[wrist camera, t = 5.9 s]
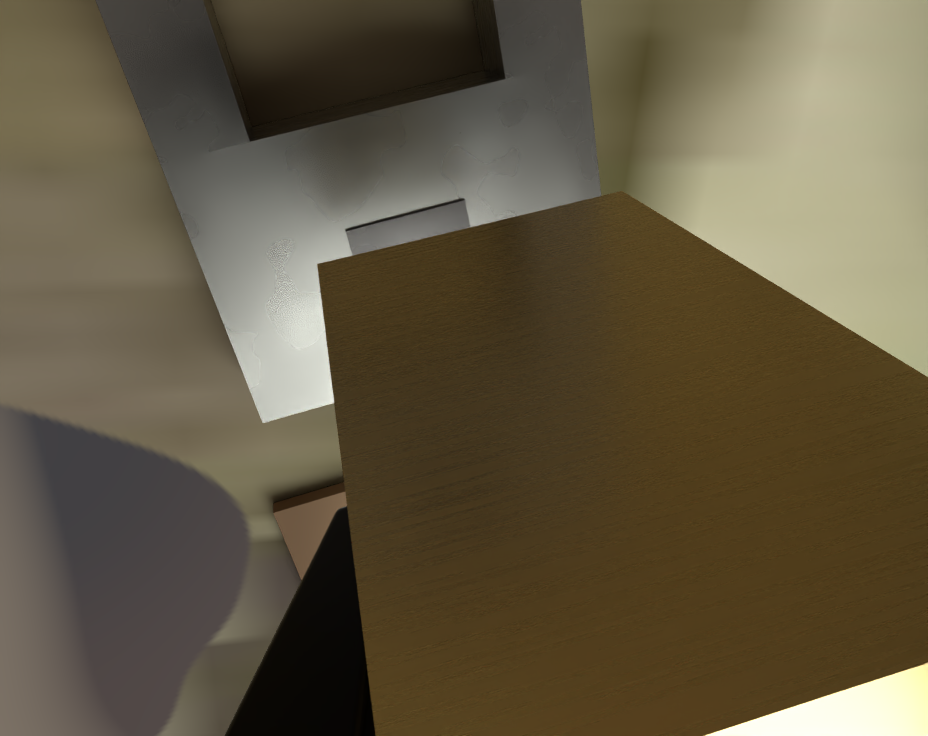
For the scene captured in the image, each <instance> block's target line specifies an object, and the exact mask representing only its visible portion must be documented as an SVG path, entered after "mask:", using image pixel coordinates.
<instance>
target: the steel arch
mask: <svg viewBox="0 0 928 736" xmlns="http://www.w3.org/2000/svg"><path fill="white" fill-rule="evenodd" d="M96 3H97V5H98V8H99V10H100V13H101V15H102V18H103V20H104V23H105V25H106V28H107V31H108V33H109V36H110V38H111V41H112V43H113V46H114V48H115V51H116V53H117V56H118V58H119V61H120V63H121V66H122V68H123V71H124V73H125V76H126V79H127V81H128V84H129V86H130V89H131V91H132V94H133V96H134V99H135V101H136V104H137V106H138V109H139V111H140V114H141V116H142V119H143V121H144V124H145V127H146V129H147V132H148V134H149V137H150V139H151V142H152V144H153V147H154V149H155V152H156V154H157V157H158V159H159V162H160V164H161V167H162V169H163V172H164V175H165V177H166V180H167V182H168V185H169V187H170V190H171V192H172V195H173V197H174V200H175V202H176V205H177V207H178V210H179V212H180V215H181V217H182V220H183V223H184V225H185V228H186V230H187V233H188V235H189V238H190V240H191V243H192V245H193V248H194V250H195V253H196V255H197V258H198V260H199V263H200V265H201V268H202V271H203V273H204V276H205V278H206V281H207V283H208V286H209V288H210V291H211V293H212V296H213V298H214V301H215V303H216V306H217V308H218V311H219V313H220V316H221V319H222V321H223V324H224V326H225V329H226V331H227V334H228V336H229V339H230V341H231V344H232V346H233V349H234V351H235V354H236V356H237V359H238V361H239V364H240V367H241V369H242V372H243V374H244V377H245V379H246V382H247V384H248V387H249V389H250V392H251V394H252V397H253V399H254V402H255V404H256V407H257V409H258V412H259V415H260V417H261V420H262V422H263V423H265V422H268V421H272V420H275V419H279V418H282V417H286V416H289V415H293V414H296V413H300V412H303V411H307V410H310V409H314V408H317V407H321V406H324V405H328V404H331V403H334V397H333V388H332V380H331V372H330V364H329V356H328V348H327V340H326V332H325V324H324V316H323V308H322V300H321V292H320V284H319V276H318V268H317V264H319V263H324V262H328V261H332V260H336V259H340V258H344V257H349V256H353V255H357V254H361V253H365V252H369V251H374V250H378V249H382V248H386V247H390V246H395V245H399V244H403V243H407V242H411V241H415V240H420V239H424V238H428V237H432V236H436V235H440V234H445V233H449V232H453V231H457V230H461V229H466V228H470V227H474V226H478V225H482V224H486V223H491V222H495V221H499V220H503V219H507V218H511V217H516V216H520V215H524V214H528V213H532V212H537V211H541V210H545V209H549V208H553V207H557V206H562V205H566V204H570V203H574V202H578V201H582V200H587V199H591V198H595V197H599V196H601V190H600V180H599V171H598V161H597V152H596V142H595V133H594V123H593V113H592V104H591V94H590V85H589V75H588V66H587V56H586V46H585V37H584V27H583V18H582V8H581V0H473V6H474V12H475V18H476V24H477V30H478V36H479V42H480V47H481V53H482V59H483V65H484V70H483V71H479V72H475V73H471V74H467V75H463V76H459V77H454V78H450V79H446V80H442V81H438V82H434V83H430V84H426V85H422V86H418V87H413V88H409V89H405V90H401V91H397V92H393V93H389V94H385V95H381V96H377V97H372V98H368V99H364V100H360V101H356V102H352V103H348V104H344V105H340V106H335V107H331V108H327V109H323V110H319V111H315V112H311V113H307V114H303V115H299V116H294V117H290V118H286V119H282V120H278V121H274V122H270V123H266V124H262V125H258V126H253V127H252V125H251V122H250V119H249V116H248V113H247V110H246V107H245V104H244V101H243V98H242V95H241V92H240V89H239V85H238V82H237V79H236V76H235V73H234V70H233V67H232V64H231V61H230V58H229V55H228V52H227V49H226V46H225V43H224V40H223V36H222V33H221V30H220V27H219V24H218V21H217V18H216V15H215V12H214V9H213V6H212V3H211V0H96Z"/></svg>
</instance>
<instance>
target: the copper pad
mask: <svg viewBox="0 0 928 736" xmlns="http://www.w3.org/2000/svg"><path fill="white" fill-rule="evenodd" d="M345 506H347V501H346V493H345V485H344V482H343V483H340V484H336V485H333V486H329V487H326V488H323V489H319V490H316V491H313V492H309V493H306V494H303V495H299V496H296V497H293V498H289V499H286V500H282V501H279V502H276V503H273V513H274V516H275V518H276V521H277V523H278V525H279V528H280V530H281V532H282V535H283V537H284V540H285V542H286V544H287V547H288V549H289V552H290V554H291V556H292V559H293V561H294V564H295V566H296V568H297V571H298V573H299V576H300V578H301V580H302V579H303V577H304V575H305V573H306V571H307V569H308V567H309V565H310V563H311V561H312V559H313V557H314V555H315V553H316V551H317V549H318V547H319V545H320V543H321V540H322V538H323V536H324V534H325V532H326V530H327V528H328V526H329V524H330V522H331V520H332V518H333V516H334V514H335V513H336V511H337V510H338V509H339V508H342V507H345Z"/></svg>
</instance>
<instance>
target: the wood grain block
mask: <svg viewBox="0 0 928 736" xmlns="http://www.w3.org/2000/svg"><path fill="white" fill-rule="evenodd" d="M317 268H318V276H319V284H320V292H321V300H322V308H323V316H324V324H325V332H326V340H327V348H328V356H329V364H330V372H331V380H332V388H333V397H334V405H335V413H336V421H337V429H338V437H339V445H340V453H341V461H342V469H343V477H344V485H345V493H346V501H347V509H348V517H349V525H350V533H351V541H352V550H353V558H354V566H355V574H356V582H357V590H358V598H359V606H360V614H361V622H362V630H363V638H364V646H365V654H366V662H367V670H368V678H369V686H370V694H371V702H372V711H373V719H374V727H375V735H376V736H928V377H927V376H925V375H923V374H922V373H920V372H918V371H917V370H915V369H914V368H912V367H910V366H909V365H907V364H905V363H904V362H902V361H900V360H899V359H897V358H895V357H894V356H892V355H891V354H889V353H887V352H886V351H884V350H882V349H881V348H879V347H877V346H876V345H874V344H872V343H871V342H869V341H868V340H866V339H864V338H863V337H861V336H859V335H858V334H856V333H854V332H853V331H851V330H849V329H848V328H846V327H845V326H843V325H841V324H840V323H838V322H836V321H835V320H833V319H831V318H830V317H828V316H826V315H825V314H823V313H822V312H820V311H818V310H817V309H815V308H813V307H812V306H810V305H808V304H807V303H805V302H803V301H802V300H800V299H799V298H797V297H795V296H794V295H792V294H790V293H789V292H787V291H785V290H784V289H782V288H781V287H779V286H777V285H776V284H774V283H772V282H771V281H769V280H767V279H766V278H764V277H762V276H761V275H759V274H758V273H756V272H754V271H753V270H751V269H749V268H748V267H746V266H744V265H743V264H741V263H739V262H738V261H736V260H735V259H733V258H731V257H730V256H728V255H726V254H725V253H723V252H721V251H720V250H718V249H716V248H715V247H713V246H712V245H710V244H708V243H707V242H705V241H703V240H702V239H700V238H698V237H697V236H695V235H693V234H692V233H690V232H689V231H687V230H685V229H684V228H682V227H680V226H679V225H677V224H675V223H674V222H672V221H670V220H669V219H667V218H666V217H664V216H662V215H661V214H659V213H657V212H656V211H654V210H652V209H651V208H649V207H647V206H646V205H644V204H643V203H641V202H639V201H638V200H636V199H634V198H633V197H631V196H629V195H628V194H626V193H624V192H623V191H620V192H616V193H612V194H607V195H603V196H599V197H595V198H591V199H587V200H582V201H578V202H574V203H570V204H566V205H562V206H557V207H553V208H549V209H545V210H541V211H537V212H532V213H528V214H524V215H520V216H516V217H511V218H507V219H503V220H499V221H495V222H491V223H486V224H482V225H478V226H474V227H470V228H466V229H461V230H457V231H453V232H449V233H445V234H440V235H436V236H432V237H428V238H424V239H420V240H415V241H411V242H407V243H403V244H399V245H395V246H390V247H386V248H382V249H378V250H374V251H369V252H365V253H361V254H357V255H353V256H349V257H344V258H340V259H336V260H332V261H328V262H324V263H319V264H317Z"/></svg>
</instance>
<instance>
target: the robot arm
mask: <svg viewBox="0 0 928 736" xmlns="http://www.w3.org/2000/svg"><path fill="white" fill-rule="evenodd" d="M225 736H376V735H375V727H374V719H373V711H372V702H371V694H370V686H369V678H368V670H367V662H366V654H365V646H364V638H363V630H362V622H361V614H360V606H359V598H358V590H357V582H356V574H355V566H354V558H353V550H352V541H351V533H350V525H349V517H348V509H347V506H345V507H342V508H339V509H338V510H337V511H336V513H335V514H334V516H333V518H332V520H331V522H330V524H329V526H328V528H327V530H326V532H325V534H324V536H323V538H322V540H321V543H320V545H319V547H318V549H317V551H316V553H315V555H314V557H313V559H312V561H311V563H310V565H309V567H308V569H307V571H306V573H305V575H304V577H303V579H302V581H301V583H300V585H299V587H298V589H297V591H296V593H295V595H294V597H293V599H292V601H291V603H290V605H289V607H288V609H287V611H286V613H285V615H284V617H283V619H282V621H281V623H280V625H279V627H278V629H277V631H276V633H275V635H274V637H273V639H272V641H271V643H270V645H269V647H268V649H267V651H266V653H265V655H264V657H263V659H262V661H261V663H260V665H259V667H258V669H257V671H256V673H255V675H254V677H253V679H252V681H251V683H250V685H249V687H248V689H247V691H246V693H245V695H244V697H243V699H242V701H241V703H240V705H239V707H238V709H237V711H236V713H235V715H234V717H233V719H232V722H231V724H230V726H229V728H228V730H227V732H226V734H225Z"/></svg>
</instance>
